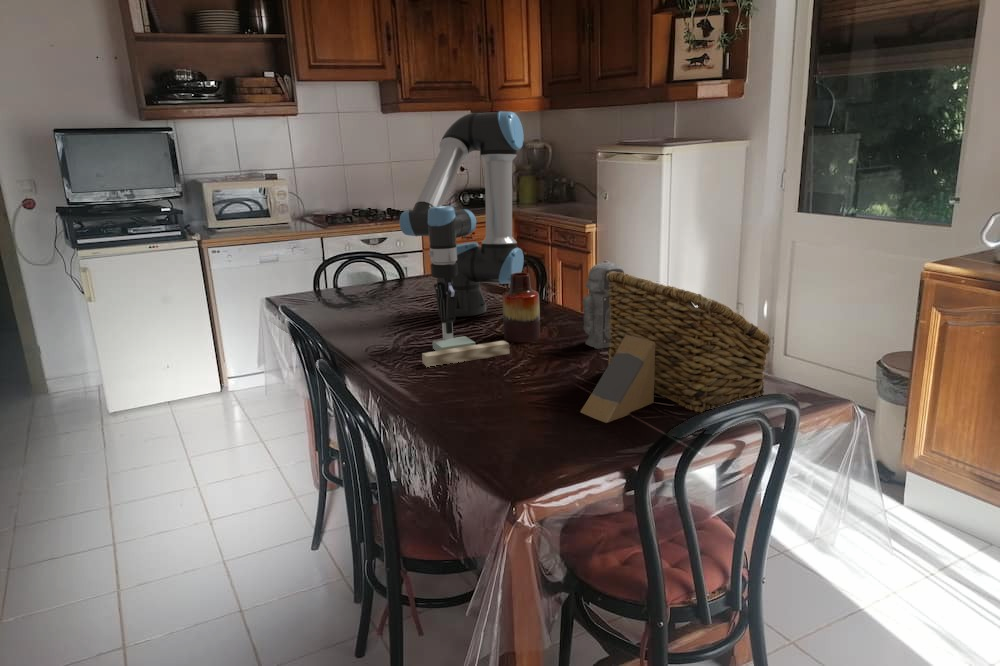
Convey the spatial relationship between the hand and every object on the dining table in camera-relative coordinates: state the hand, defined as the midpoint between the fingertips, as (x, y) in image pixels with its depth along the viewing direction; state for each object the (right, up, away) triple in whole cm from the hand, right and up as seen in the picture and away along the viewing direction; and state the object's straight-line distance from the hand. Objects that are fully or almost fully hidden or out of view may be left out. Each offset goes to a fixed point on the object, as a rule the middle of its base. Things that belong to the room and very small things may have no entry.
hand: (448, 343), depth 206 cm
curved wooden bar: (+6, -5, -12) cm, 14 cm away
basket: (+60, -9, -35) cm, 70 cm away
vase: (+22, 0, +7) cm, 22 cm away
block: (+2, -3, -4) cm, 5 cm away
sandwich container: (+40, -14, -49) cm, 65 cm away
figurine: (+45, -1, -2) cm, 45 cm away
